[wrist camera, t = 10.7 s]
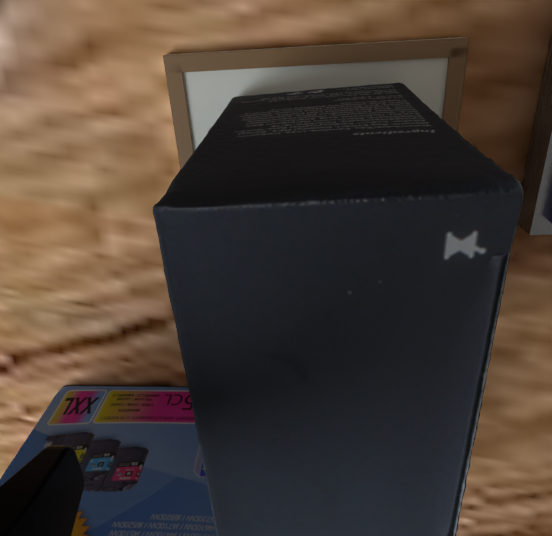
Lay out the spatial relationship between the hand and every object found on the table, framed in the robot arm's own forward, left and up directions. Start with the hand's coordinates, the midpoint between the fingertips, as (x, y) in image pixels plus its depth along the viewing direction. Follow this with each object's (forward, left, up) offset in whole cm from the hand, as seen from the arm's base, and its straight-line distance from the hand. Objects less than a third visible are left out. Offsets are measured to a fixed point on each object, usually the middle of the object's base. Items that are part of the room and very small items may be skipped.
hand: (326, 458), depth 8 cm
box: (0, 0, -10) cm, 10 cm away
